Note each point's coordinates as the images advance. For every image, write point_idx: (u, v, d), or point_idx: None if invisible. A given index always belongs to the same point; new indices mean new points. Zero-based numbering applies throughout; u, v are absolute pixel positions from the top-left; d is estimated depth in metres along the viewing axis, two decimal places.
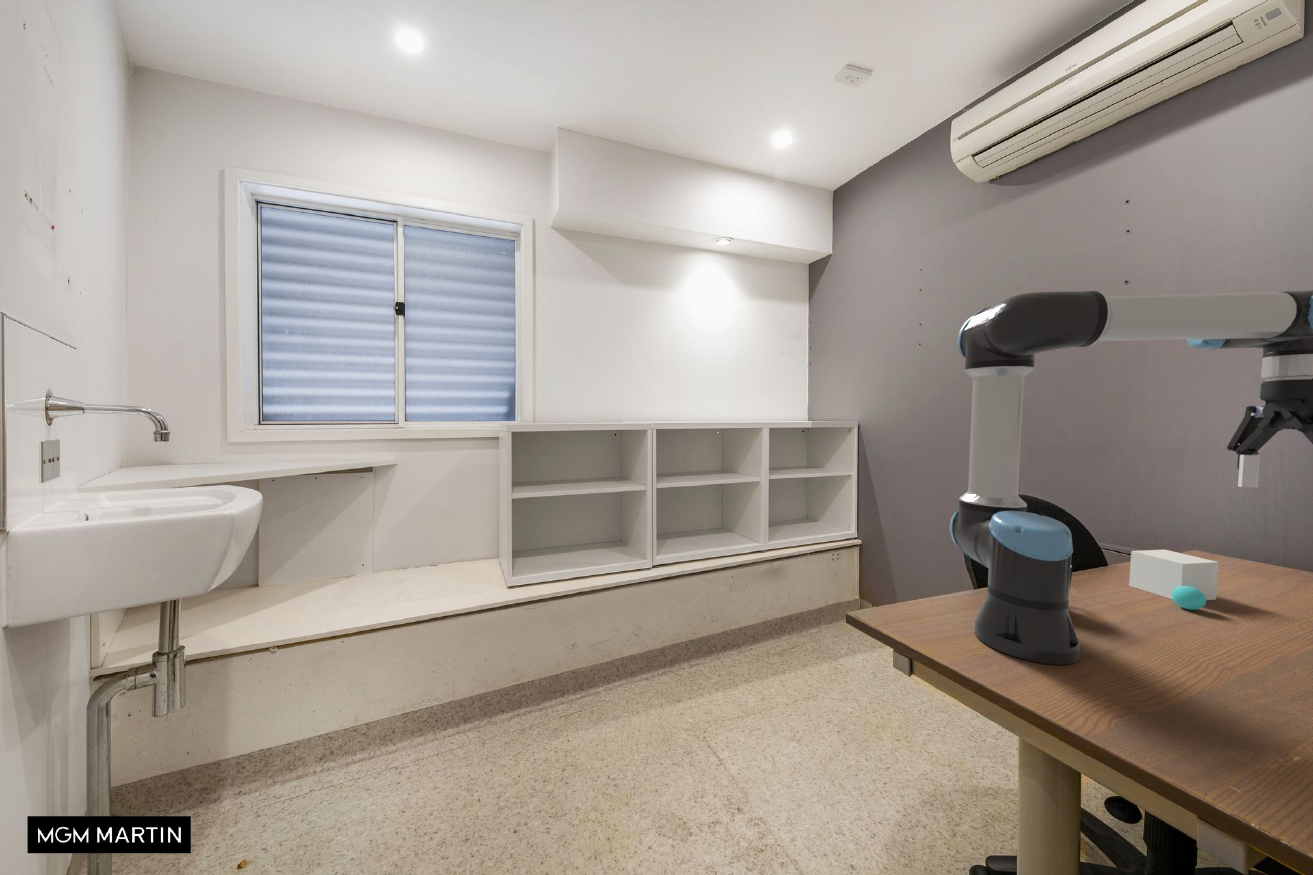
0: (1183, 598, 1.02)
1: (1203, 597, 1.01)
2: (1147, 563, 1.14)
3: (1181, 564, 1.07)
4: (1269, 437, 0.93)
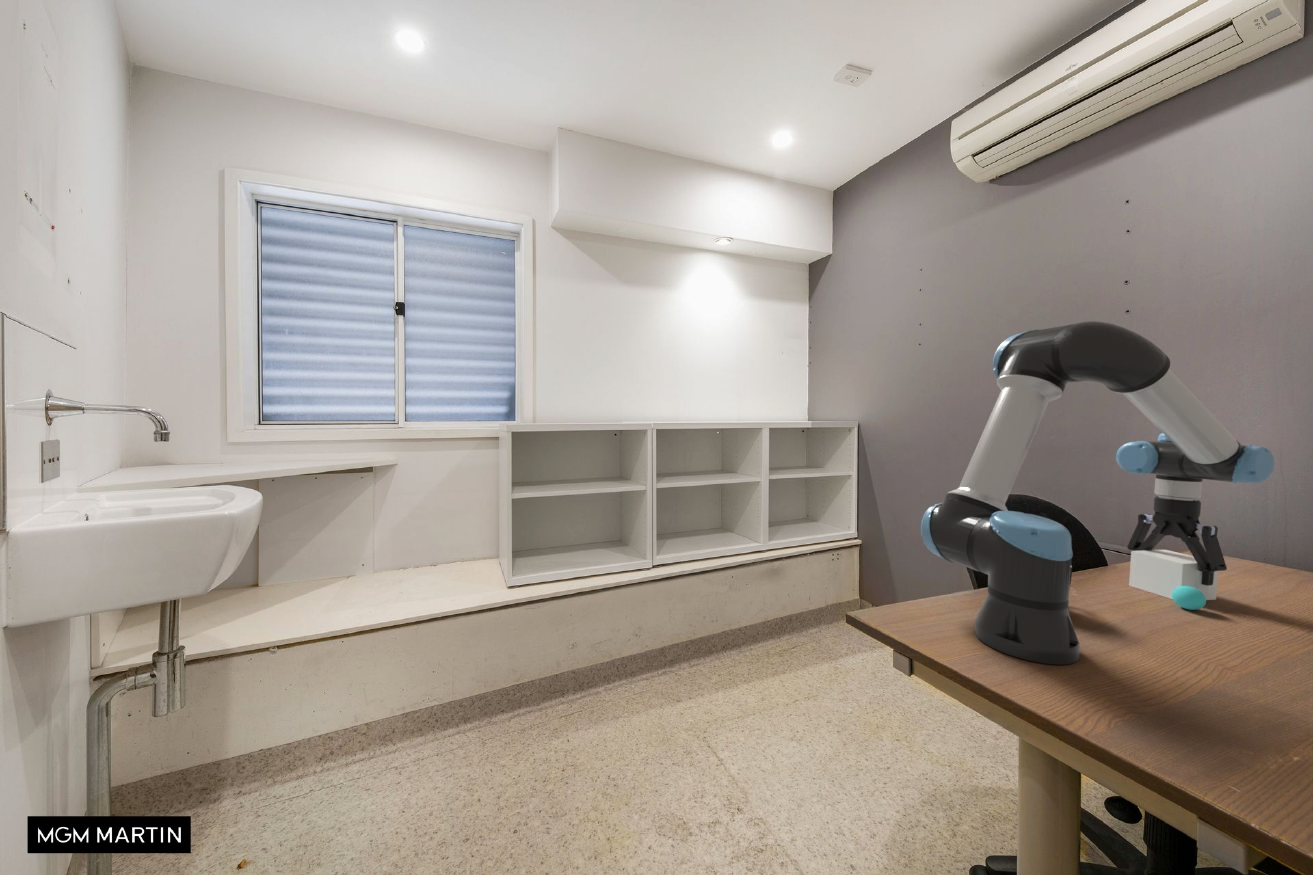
0: (1183, 598, 1.02)
1: (1203, 597, 1.01)
2: (1147, 563, 1.14)
3: (1181, 564, 1.07)
4: (1158, 540, 1.17)
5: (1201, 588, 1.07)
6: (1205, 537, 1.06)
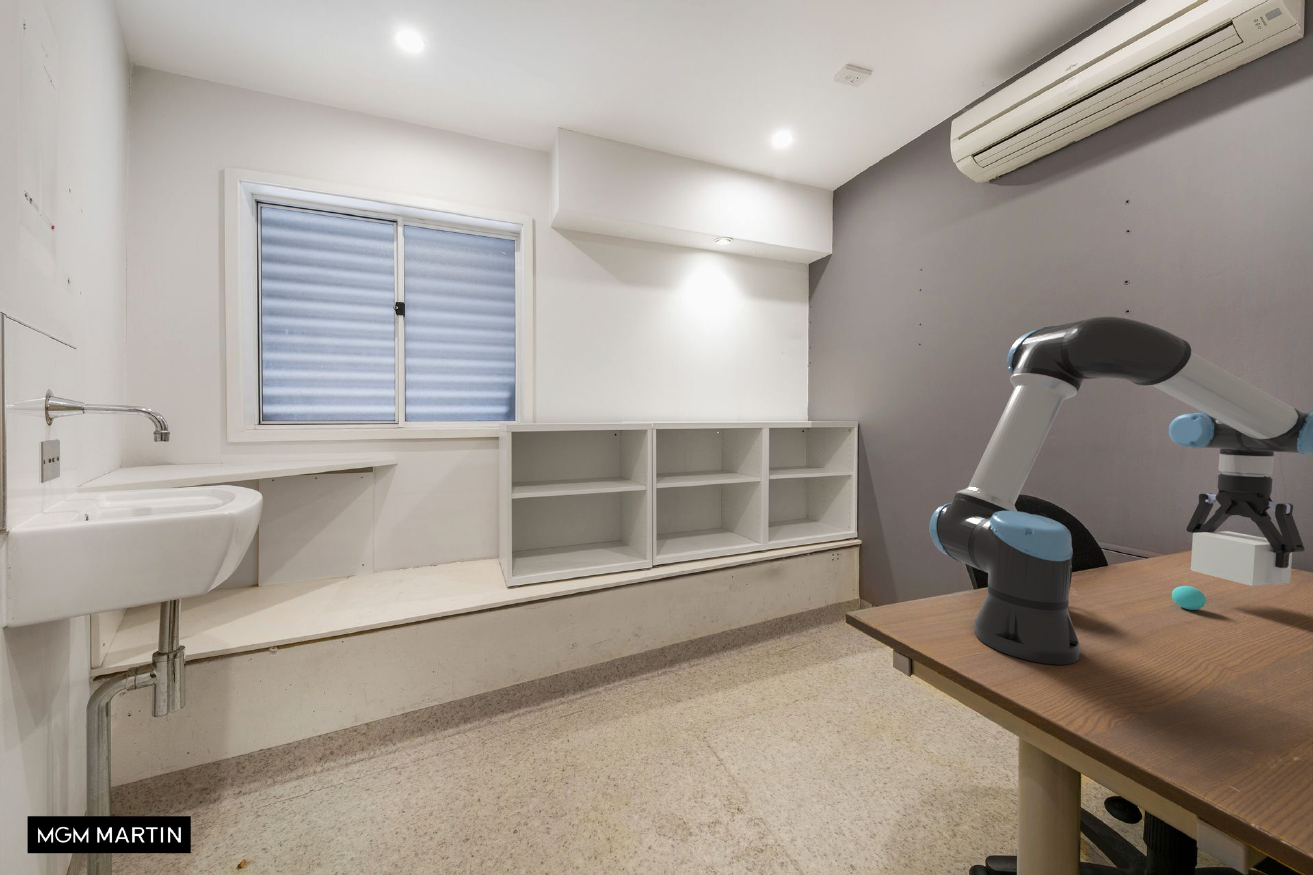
0: (1183, 598, 1.02)
1: (1203, 597, 1.01)
2: (1212, 545, 1.06)
3: (1253, 545, 0.99)
4: (1222, 521, 1.08)
5: (1274, 571, 0.99)
6: (1279, 516, 0.98)
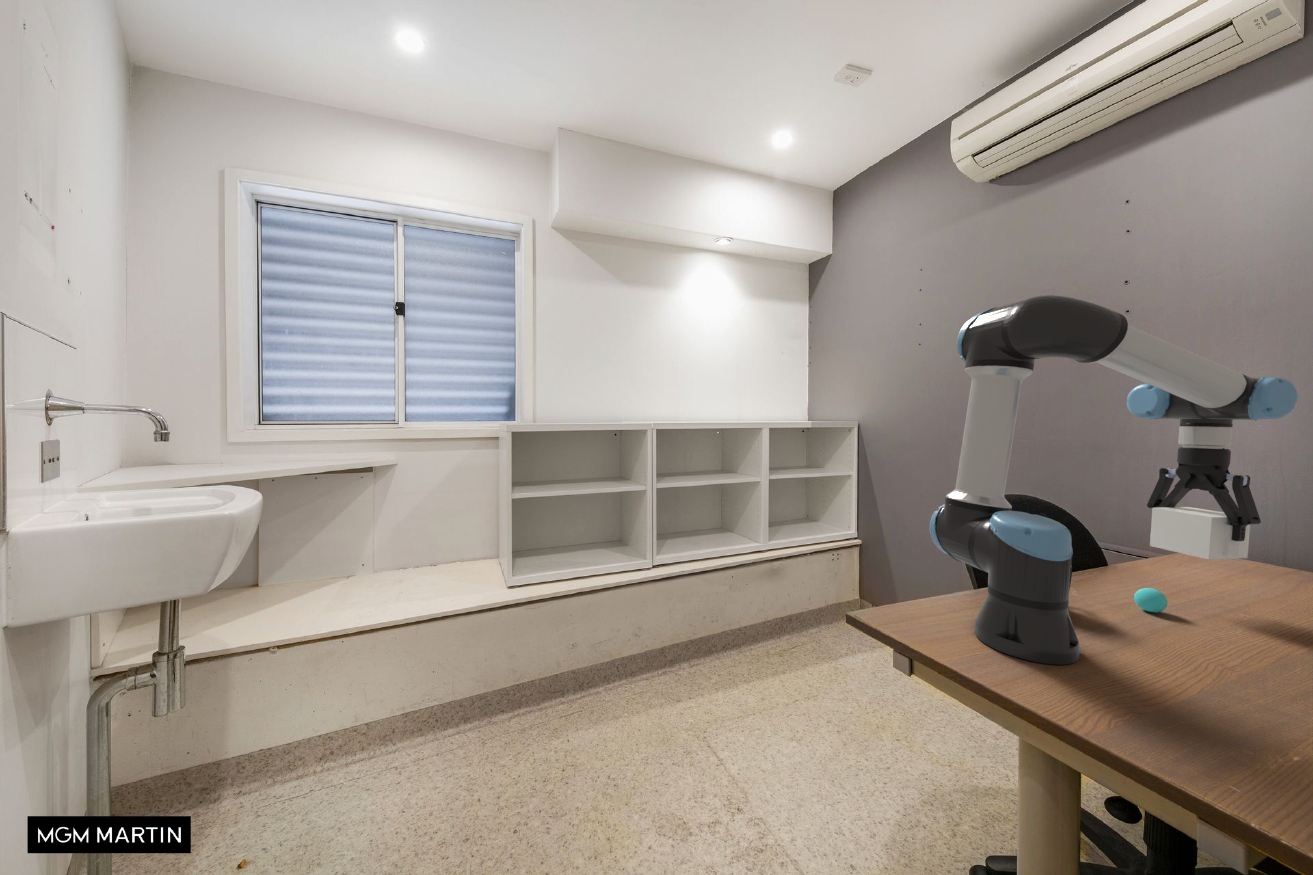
0: None
1: (1164, 608, 1.00)
2: (1170, 519, 1.04)
3: (1210, 518, 0.97)
4: (1182, 496, 1.06)
5: (1231, 545, 0.97)
6: (1236, 488, 0.96)
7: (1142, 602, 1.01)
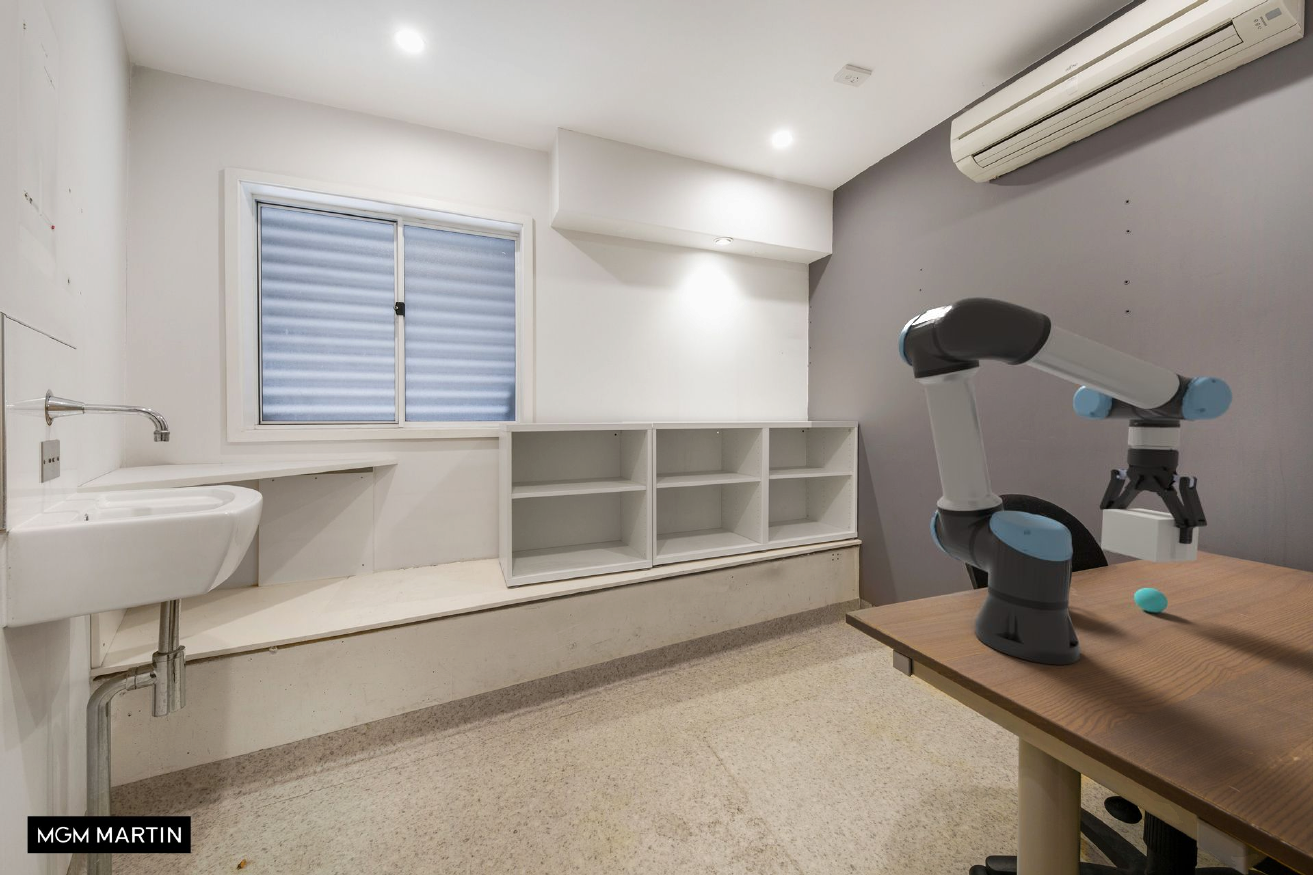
0: None
1: (1164, 608, 1.00)
2: (1120, 522, 1.02)
3: (1156, 520, 0.95)
4: (1133, 498, 1.04)
5: (1178, 548, 0.95)
6: (1183, 489, 0.94)
7: (1142, 602, 1.01)
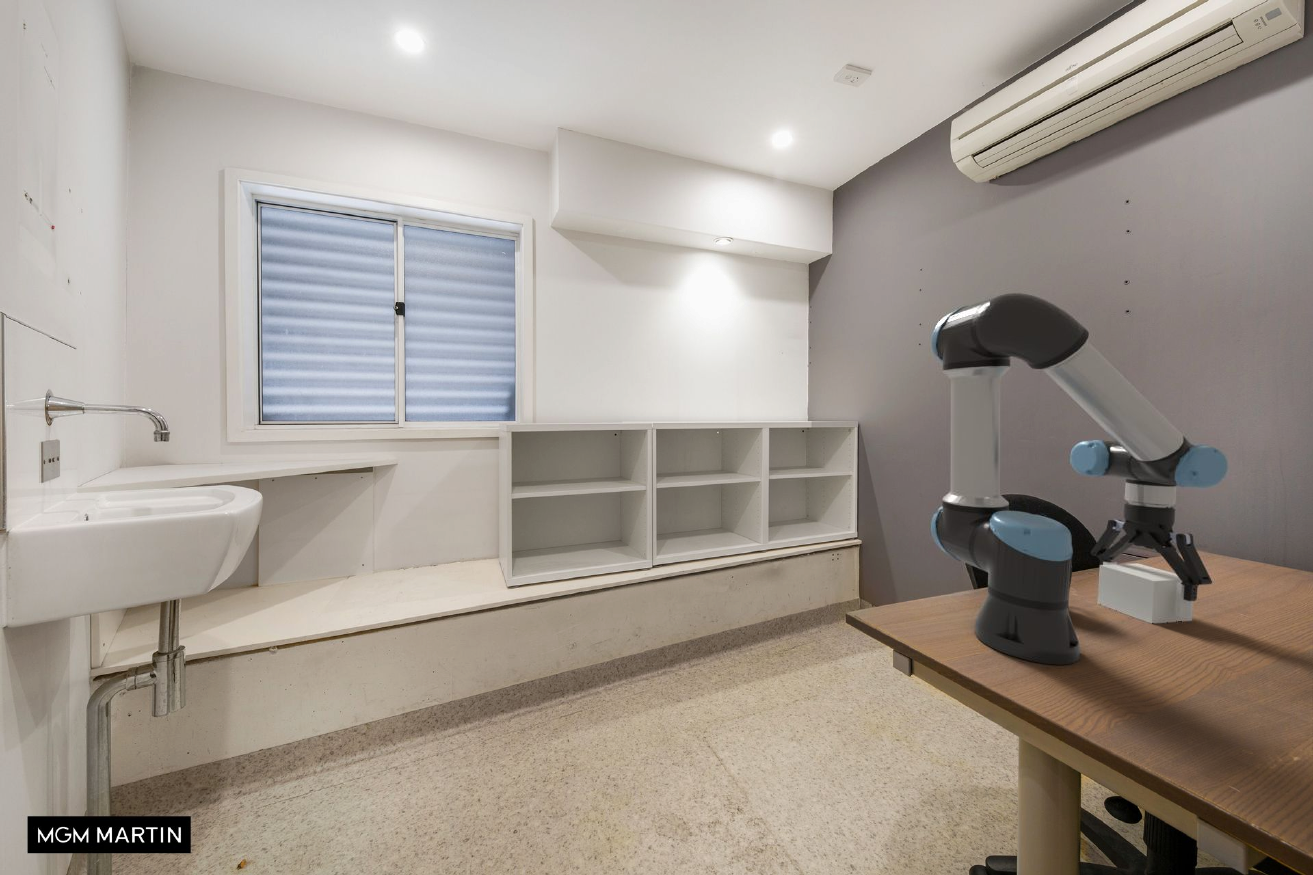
0: None
1: None
2: (1116, 579, 1.02)
3: (1152, 581, 0.96)
4: (1125, 549, 1.06)
5: (1183, 604, 0.94)
6: (1181, 546, 0.94)
7: None
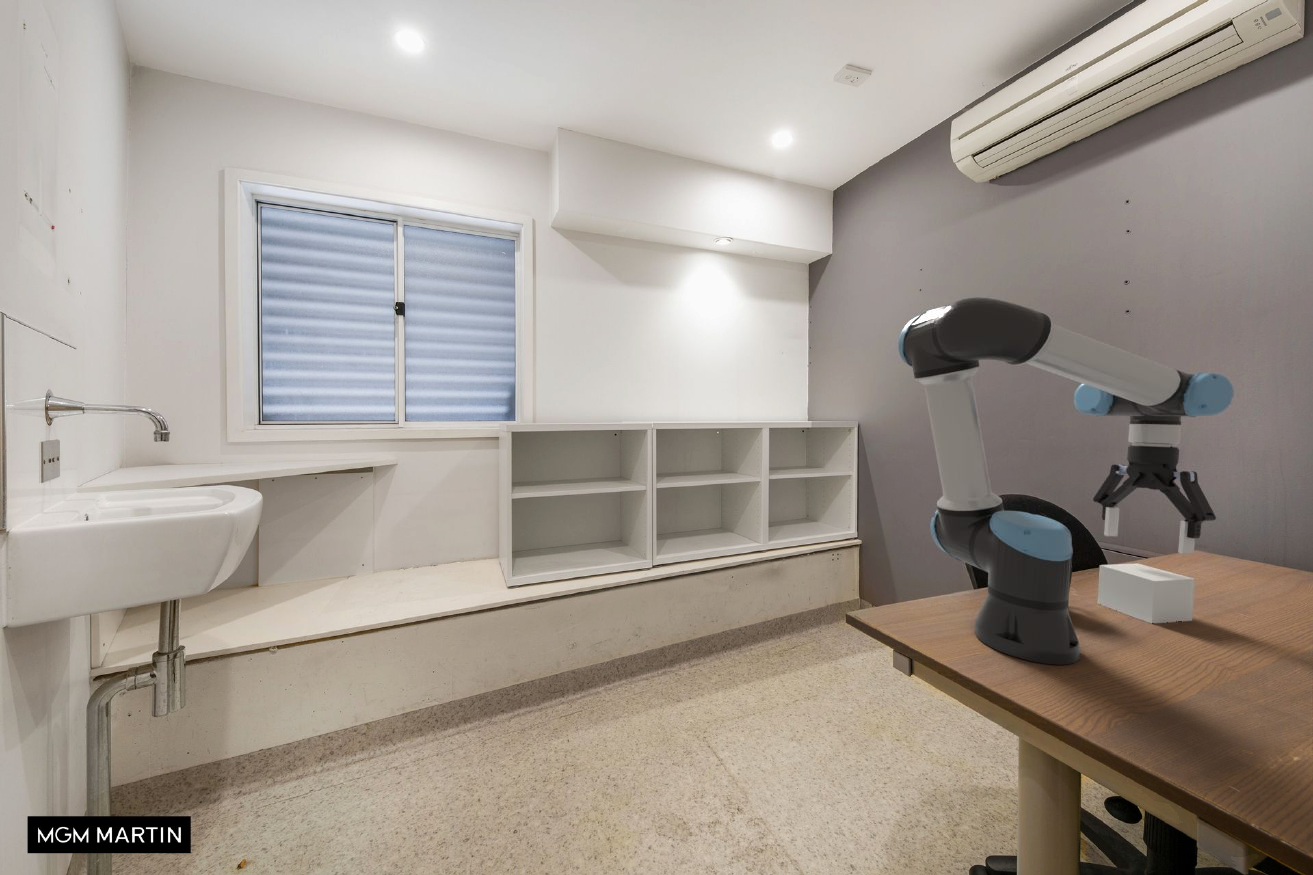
0: None
1: None
2: (1116, 579, 1.02)
3: (1152, 581, 0.96)
4: (1128, 493, 1.05)
5: (1186, 542, 0.94)
6: (1185, 484, 0.94)
7: None
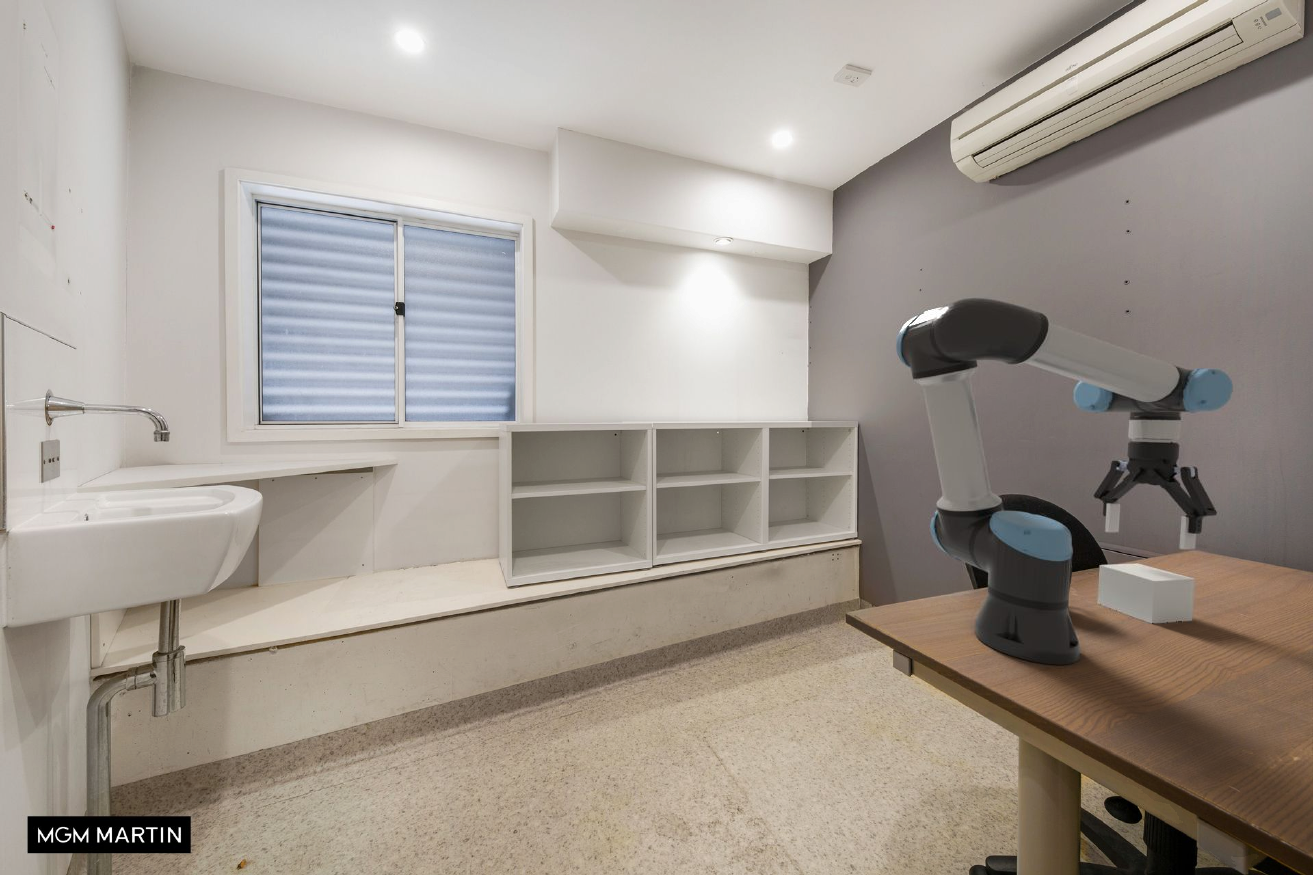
0: None
1: None
2: (1116, 579, 1.02)
3: (1152, 581, 0.96)
4: (1129, 489, 1.05)
5: (1187, 537, 0.94)
6: (1185, 479, 0.94)
7: None
